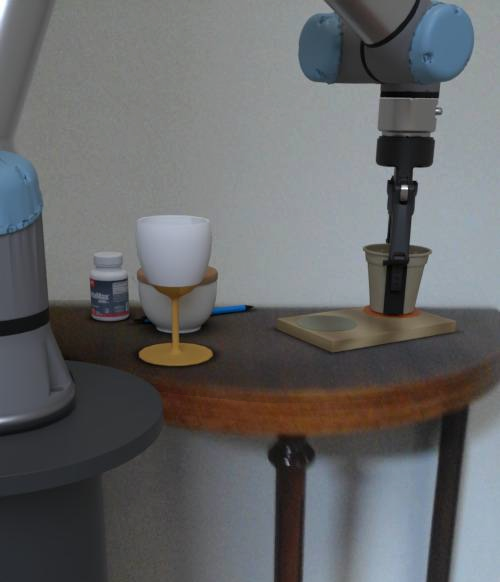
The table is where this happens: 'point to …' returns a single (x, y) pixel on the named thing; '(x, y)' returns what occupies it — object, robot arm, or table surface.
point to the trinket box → (179, 303)
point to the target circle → (369, 311)
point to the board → (361, 328)
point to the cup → (174, 275)
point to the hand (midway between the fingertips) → (392, 305)
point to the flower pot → (378, 274)
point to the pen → (215, 311)
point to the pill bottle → (109, 287)
